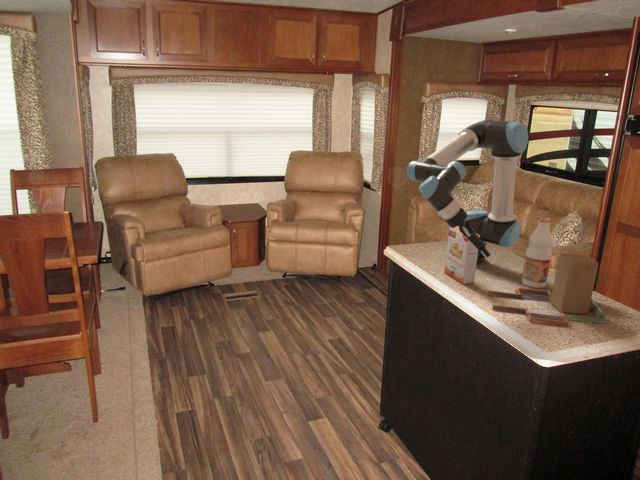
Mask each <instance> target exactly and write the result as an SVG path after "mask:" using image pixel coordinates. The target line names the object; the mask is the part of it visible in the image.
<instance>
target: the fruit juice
mask: <svg viewBox="0 0 640 480" xmlns="http://www.w3.org/2000/svg"><path fill="white" fill-rule="evenodd" d="M537 222H538V224H537V225H536V228H535V229H534V230H533V232H531V234H530V235H529V238H528V247H527V248H526V251H525V257H524V265H523V269H522V275H521V283H522V284H523V285H525V286H527V287H530V288H534V289H535V288H536V289H542V288H545V287H546V284H547V281H548V275H549V269H550V264H551V260H552V253H553V252H552V247H553V245H554V236H553V235H552V233H551V226H550V225H551V224H552V218H550V217H545V216H544V217H543V216H541V217H538V218H537Z"/></svg>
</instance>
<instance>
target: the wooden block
mask: <svg viewBox="0 0 640 480" xmlns="http://www.w3.org/2000/svg"><path fill="white" fill-rule="evenodd" d="M557 259H558V260H557V266H556V269H555V270H556V271H555V275H554V281H553V286H552V291H551V294H552V296H551V302H550V303H551V304H552V305H553V307H555V308H556V309H557V311H558V312H560V314H561V313H564V314H568V315H588V314H589V311H590V308H589V307H590V302H591V298H592V297H593V293H594V287H595V283H596V278H597V276H598V275H597V274H598V270H599V262H598V261H597V260H595V259H593V258H592V257H590V256H589V255H587V254H586V253H559V255H558V258H557ZM592 299H593V298H592Z"/></svg>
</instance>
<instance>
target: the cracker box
mask: <svg viewBox="0 0 640 480" xmlns="http://www.w3.org/2000/svg"><path fill="white" fill-rule="evenodd" d="M477 235H478V234H477ZM478 237H479V238H480V235H478ZM445 255H446V256H445V264H444V273H445V274H446V275H448V276H449V277H451V278H452V279H454V280H455V281H457V282H458V283H460V284H461V285H468V284H474V283H475V277H476V270H477V265H478V264H477V256H478V249H477V248H476V247H475V246H474V245H473V244H472V243H471V242H470V240H469V239H468V238H466V236H464V234H463V233H461V232H460V231H459V226H456V227H455V228H451V227H450V226H449V229H448V237H447V248H446V254H445Z"/></svg>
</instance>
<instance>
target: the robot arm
mask: <svg viewBox="0 0 640 480" xmlns="http://www.w3.org/2000/svg"><path fill="white" fill-rule="evenodd" d="M528 143H529V132H528V129H527V127H526V126H525V124H523V123H522V122H517V121H514V120H513V121H510V120H496V119H495V120H493V119H485V120H481V121H478V122H475V123H472V124H471V125H469V126H466V127H465V128H463V129H461V131H460V132H458V136H456V137H454V138H452V140H450V141H449V142H448V143H445V145H443V146H441V147H440V148H439V149H437V150H436V151H435V152H433V153H431V154H430V155H428V156H427V157H425V158H424V159H422V160H420V161H419V160H413V161H411V162H409V164H408V165H407V167H406V176H407V178H408V179H409V180H410V181H411V180H412V181H414V182H418V183H419V182H420V183H421V184H420V185H419V187H418V190H419V193H420V194H421V195H422V197H424V199H425V200H426V201H427V203H429V204H430V205H431V207H433V209H434V210H435V211H436V212H437V216H440V217H441V218H442V219H443V220H445V223H446V224H447V225H448V226H449V227H451V228H455V227H456V226H459V231H460V232H461V233H463V234H464V236H466V238H468V239H469V240H470V242H471V243H472V244H473V245H474V246H475V247H476V248H477V249H478V256H477V264H476V265H481V264H484V263H486V260H487V261H488V262H489V264H491V265H493V264H494V263H496V262H497V261H498V258H497V257H496V255H495V254H494V253H493V252H492V251H491V250H490V249H489V248H488V246H487V243H488V244H492V245H496V246H498V247H505V248H510V247H512V246H513V245H514V244H516V242H517V241H518V239H519V237H520V235H521V230H522V225H521V223H520V222H518V221H517V215H516V214H515V213H514V199H515V187H516V184H515V183H516V172H517V159H519V157H521V155H522V153H523V152H525V151H526V149H527V145H528ZM477 149H487V150H490V151H491V152H490V155H491V157H492V158H493V159H494V162H493V181H492V183H493V184H492V197H491V199H492V200H491V211H490V212H488V211H487V210H480V209H478V210H465V209H464V208H462V207H461V205H460V204H459V202H458V201H457V200H456V198H454V196H453V195H452V194H451V193H452V192H453V191H454V190H455V188H457V186H458V185H459V184H460V183H461V182H462V180H463V179H464V177H466V174H467V169H466V167H465V166H464V164H462V162H459V161H457V160H459V158H461V157H462V156H464V155H465V154H466V153H468V152H473V151H475V150H477ZM477 234H478V235H480V238H479V237H478V235H477Z"/></svg>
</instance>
